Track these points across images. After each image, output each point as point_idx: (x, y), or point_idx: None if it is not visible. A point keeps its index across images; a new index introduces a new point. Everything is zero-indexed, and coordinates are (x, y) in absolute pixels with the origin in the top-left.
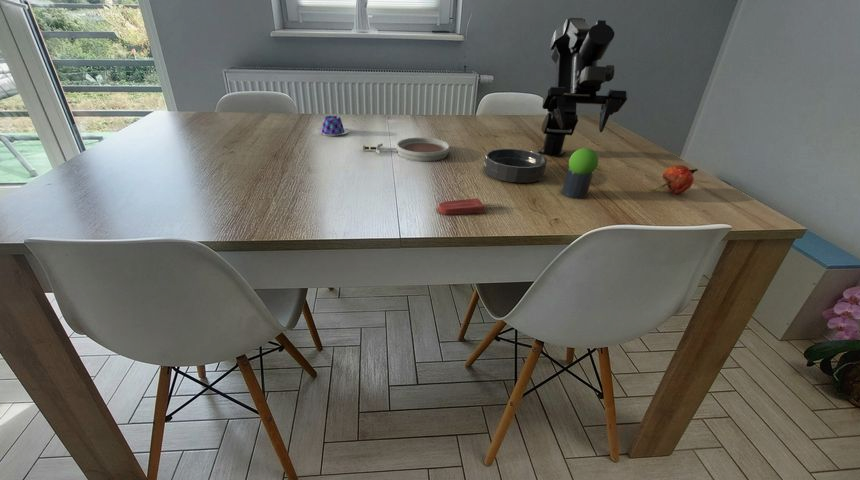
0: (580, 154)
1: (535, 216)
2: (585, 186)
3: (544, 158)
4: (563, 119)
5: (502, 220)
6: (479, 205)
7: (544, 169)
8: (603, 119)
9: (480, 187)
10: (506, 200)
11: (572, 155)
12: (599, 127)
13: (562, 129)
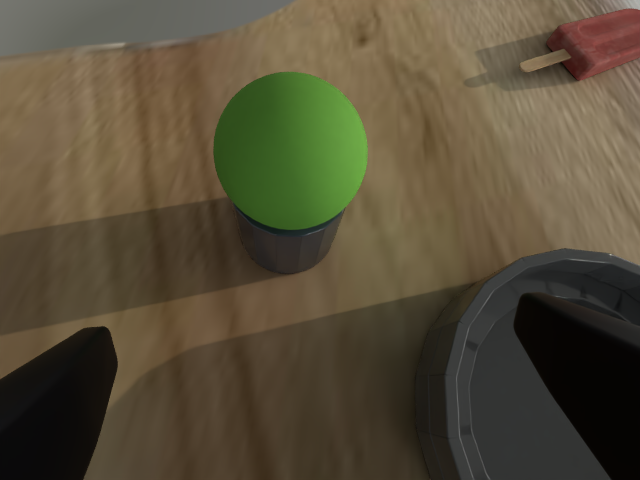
0: (331, 85)
1: (416, 47)
2: None
3: (463, 465)
4: (619, 330)
5: (491, 17)
6: (572, 26)
7: (433, 364)
8: (13, 408)
9: (616, 209)
10: (509, 126)
11: (364, 133)
12: (93, 440)
13: (522, 316)
